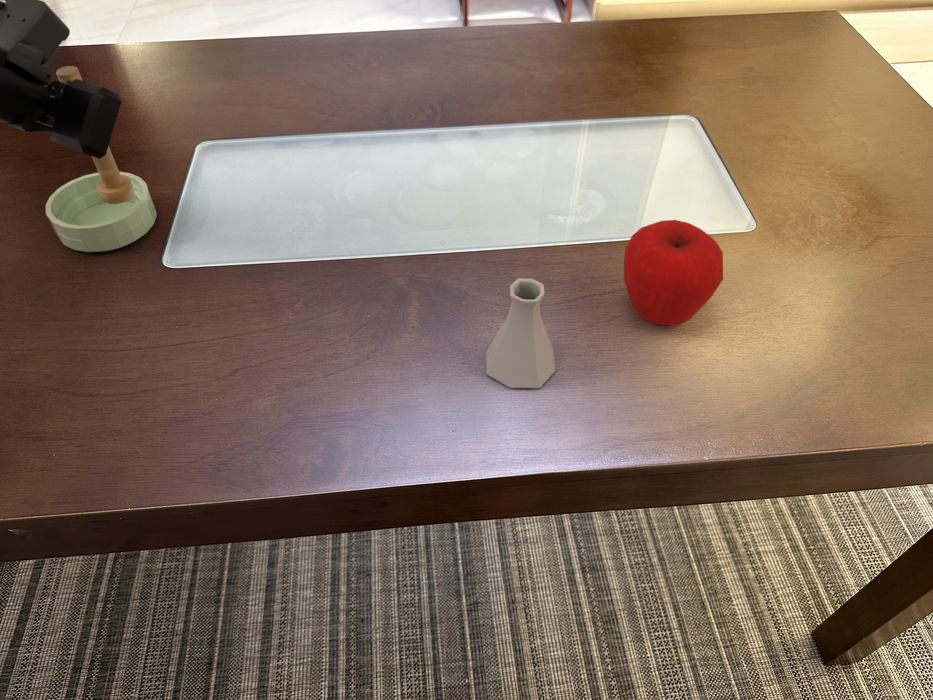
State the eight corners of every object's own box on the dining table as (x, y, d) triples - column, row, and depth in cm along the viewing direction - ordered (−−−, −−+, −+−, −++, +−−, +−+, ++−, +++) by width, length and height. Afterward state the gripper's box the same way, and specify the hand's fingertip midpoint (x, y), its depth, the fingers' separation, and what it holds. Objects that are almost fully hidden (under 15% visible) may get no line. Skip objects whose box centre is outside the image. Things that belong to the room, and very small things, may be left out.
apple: (724, 325, 76) (755, 244, 68) (652, 357, 73) (675, 275, 65) (665, 271, 82) (687, 190, 74) (595, 297, 79) (611, 216, 71)
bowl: (47, 258, 83) (32, 230, 80) (74, 201, 90) (61, 173, 87) (148, 253, 83) (136, 225, 80) (165, 196, 91) (156, 169, 88)
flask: (564, 347, 74) (575, 273, 66) (546, 399, 69) (556, 325, 62) (496, 330, 75) (500, 256, 68) (474, 380, 71) (476, 306, 63)
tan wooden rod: (117, 207, 79) (65, 82, 69) (94, 198, 80) (38, 74, 70) (141, 190, 82) (94, 66, 71) (118, 182, 83) (68, 59, 72)
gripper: (62, -1, 58) (193, 74, 73) (-90, -42, 64) (61, 35, 78) (24, 132, 59) (161, 179, 74) (-122, 81, 65) (32, 134, 79)
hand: (102, 128), depth 76 cm, fingers closed on tan wooden rod, 2 cm apart
